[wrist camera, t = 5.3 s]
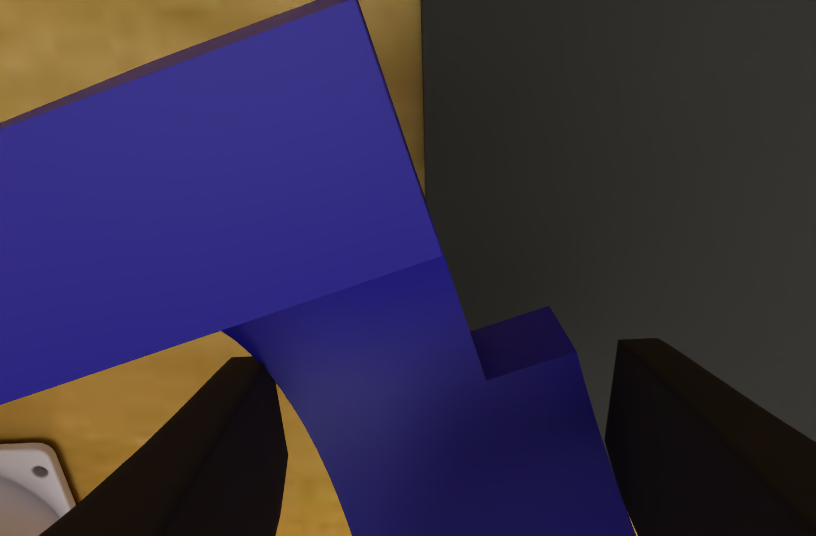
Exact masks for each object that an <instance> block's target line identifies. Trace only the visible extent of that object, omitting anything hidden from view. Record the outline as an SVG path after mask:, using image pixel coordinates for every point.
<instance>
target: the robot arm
mask: <svg viewBox="0 0 816 536" xmlns="http://www.w3.org/2000/svg"><path fill="white" fill-rule="evenodd" d="M604 442H605V445H606V449H607V452H608V455H609V459H610V462H611V466H612V469H613V472H614V476H615V479H616V482H617V485H618V488H619V491H620V494H621V497H622V500H623V503H624V505H625V507H626V510H627V512H628V514H629V517H630V519H631V521H632V523H633V525H634V528H635V530H636V532H637V534H638V536H816V442H815V441H813V440H812V439H810V438H809V437H807V436H805V435H804V434H802V433H801V432H799V431H797V430H796V429H794V428H793V427H791V426H790V425H788V424H786V423H785V422H783V421H782V420H780V419H779V418H777V417H776V416H774V415H773V414H771V413H770V412H768V411H767V410H765V409H764V408H762V407H761V406H759V405H758V404H756V403H754V402H753V401H751V400H750V399H749V398H747V397H746V396H744V395H743V394H741V393H740V392H738V391H737V390H735V389H734V388H732V387H731V386H729V385H728V384H726V383H725V382H724V381H722V380H721V379H719V378H718V377H716V376H715V375H713V374H712V373H710V372H709V371H707V370H706V369H705V368H703V367H702V366H700V365H699V364H697V363H696V362H694V361H693V360H691V359H690V358H688V357H687V356H685V355H684V354H682V353H681V352H679V351H678V350H676V349H675V348H673V347H672V346H670V345H669V344H667V343H665V342H664V341H662V340H660V339H659V338H642V339H620V340H618V344H617V351H616V358H615V365H614V373H613V380H612V387H611V395H610V402H609V409H608V416H607V424H606V431H605V438H604ZM287 460H288V452H287V446H286V440H285V435H284V429H283V423H282V417H281V412H280V406H279V400H278V395H277V389H276V383H275V381H274V379H273V378H272V377H271V376H270V374H269V373H268V372H267V369H266V366H265V364H260V363H259V362H258V361H257V360H256V359H255V358H254V357H253V356H250V357H232V358H231V359H229V360H228V361H227V362H226V363H225V364H224V365H223V366H222V367H221V368H220V369H219V370H218V371H217V372H216V373H215V374H214V375H213V376H212V377H211V378H210V379H209V380H208V381H207V382H206V383H205V384H204V385H203V386H202V387H201V388H200V389H199V391H198V392H197V393H196V394H195V395H194V396H193V397H192V398H191V399H190V400H189V401H188V402H187V403H186V404H185V405H184V406H183V407H182V408H181V409H180V410H179V411H178V412H177V413H176V414H175V415H174V416H173V417H172V418H171V419H170V420H169V421H168V422H167V423H166V424H165V425H164V426H163V427H162V428H161V429H159V430H158V431H157V432H156V433H155V434H154V435H153V436H152V437H151V438H150V439H149V440H148V441H147V442H146V443H145V444H144V445H143V446H142V447H141V448H140V449H139V450H138V451H136V452H135V453H134V454H133V455H132V456H131V457H130V458H129V459H128V460H126V461H125V462H124V463H123V464H122V465H121V466H120V467H119V468H117V469H116V470H115V471H114V472H113V473H112V474H111V475H110V476H109V477H107V478H106V479H105V480H104V481H103V482H102V483H101V484H100V485H99V486H97V487H96V488H95V489H94V490H93V491H92V492H91V493H90V494H88V495H87V496H86V497H85V498H84V499H83V500H82V501H80V502H79V503H78V504H77V505H76V504H75V501H74V499H73V496H72V494H71V491H70V489H69V486H68V483H67V481H66V478H65V476H64V473H63V471H62V468H61V466H60V463H59V461H58V458H57V456H56V453H55V452H54V450H53V449H52V448H51V447H50V446H49V445H46V444H44V443H14V444H0V536H275V535H276V531H277V527H278V523H279V519H280V513H281V506H282V499H283V492H284V485H285V476H286V468H287ZM42 467H43V468H42ZM44 468H45V469H44Z"/></svg>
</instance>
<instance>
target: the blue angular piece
mask: <svg viewBox="0 0 816 536" xmlns="http://www.w3.org/2000/svg"><path fill="white" fill-rule="evenodd" d="M218 331H222V332H224V333H225V334H227V335H228V336H230V337H231V338H233V339H234V340H235V341H237V342H238V343H239V344H240V345H241V346H242V347H243V348H245V349H246V350H247V351H248V352H249V353H250V354H251V355H252V356H253V357H254V358H255V359H256V360H257V361H258V362H259V363H260V364H265V366H266V369H267V372H268V373H269V374H270V376H271V377H272V378H273V379H274V381H275V382H276V383H277V384H278V386H279V387H280V388H281V390H282V391H283V393H284V394H285V396H286V397H287V399H288V400H289V402H290V403H291V404H292V406H293V408H294V409H295V411H296V413H297V414H298V416H299V418H300V419H301V421H302V423H303V424H304V426H305V428H306V430H307V431H308V433H309V435H310V437H311V439H312V441H313V443H314V445H315V447H316V448H317V451H318V453H319V455H320V457H321V459H322V461H323V463H324V465H325V467H326V470H327V472H328V474H329V477H330V479H331V481H332V484H333V486H334V488H335V491H336V493H337V495H338V498H339V501H340V503H341V506H342V509H343V511H344V514H345V517H346V519H347V522H348V525H349V528H350V531H351V534H352V536H636V534H635V531H634V529H633V526H632V523H631V520H630V518H629V515H628V512H627V510H626V507H625V505H624V503H623V500H622V497H621V494H620V491H619V488H618V485H617V482H616V479H615V476H614V473H613V470H612V467H611V464H610V461H609V458H608V455H607V452H606V449H605V446H604V443H603V440H602V437H601V434H600V431H599V428H598V425H597V421H596V418H595V415H594V412H593V408H592V405H591V401H590V398H589V395H588V391H587V388H586V384H585V380H584V377H583V373H582V369H581V366H580V362H579V358H578V354H577V351H576V349H575V348H574V346H573V344H572V343H571V341H570V339H569V338H568V336H567V334H566V333H565V331H564V329H563V328H562V326H561V325H560V323H559V321H558V320H557V318H556V316H555V315H554V313H553V311H552V310H551V308H550V306H547V307H543V308H540V309H537V310H534V311H531V312H528V313H525V314H522V315H519V316H516V317H513V318H510V319H507V320H504V321H501V322H498V323H495V324H492V325H488V326H485V327H482V328H479V329H476V330H473V331H470V330H469V327H468V324H467V321H466V318H465V315H464V312H463V310H462V307H461V304H460V301H459V298H458V295H457V292H456V289H455V286H454V283H453V280H452V277H451V274H450V271H449V268H448V265H447V262H446V259H445V256H444V253H443V250H442V247H441V244H440V241H439V238H438V235H437V233H436V230H435V227H434V224H433V221H432V218H431V215H430V212H429V209H428V206H427V203H426V200H425V197H424V194H423V191H422V188H421V185H420V182H419V179H418V176H417V173H416V170H415V167H414V164H413V161H412V158H411V156H410V153H409V150H408V147H407V144H406V141H405V138H404V135H403V132H402V129H401V126H400V123H399V120H398V117H397V114H396V111H395V108H394V105H393V102H392V99H391V96H390V93H389V90H388V87H387V84H386V82H385V79H384V76H383V73H382V70H381V67H380V64H379V61H378V58H377V55H376V52H375V49H374V46H373V43H372V40H371V37H370V34H369V31H368V28H367V25H366V22H365V19H364V16H363V13H362V10H361V7H360V5H359V2H358V0H316V1H313V2H311V3H308V4H305V5H303V6H300V7H297V8H295V9H292V10H289V11H286V12H284V13H281V14H278V15H276V16H273V17H270V18H268V19H265V20H262V21H259V22H257V23H254V24H251V25H249V26H246V27H243V28H241V29H238V30H235V31H233V32H230V33H227V34H224V35H222V36H219V37H216V38H214V39H211V40H208V41H206V42H203V43H200V44H198V45H195V46H192V47H189V48H187V49H184V50H181V51H179V52H176V53H173V54H171V55H168V56H165V57H163V58H160V59H157V60H155V61H152V62H150V63H147V64H145V65H142V66H140V67H137V68H135V69H132V70H130V71H127V72H125V73H122V74H120V75H118V76H115V77H113V78H110V79H108V80H105V81H103V82H100V83H98V84H95V85H93V86H90V87H88V88H85V89H83V90H80V91H78V92H76V93H73V94H71V95H68V96H66V97H63V98H61V99H58V100H56V101H53V102H51V103H48V104H46V105H43V106H41V107H39V108H36V109H34V110H31V111H29V112H26V113H24V114H21V115H19V116H16V117H14V118H11V119H9V120H6V121H4V122H2V123H0V405H1V404H4V403H7V402H10V401H13V400H16V399H19V398H22V397H25V396H28V395H31V394H34V393H37V392H40V391H43V390H46V389H49V388H52V387H55V386H58V385H61V384H64V383H67V382H70V381H73V380H76V379H79V378H81V377H84V376H87V375H90V374H93V373H96V372H99V371H102V370H105V369H108V368H111V367H114V366H117V365H120V364H123V363H126V362H129V361H132V360H135V359H138V358H141V357H144V356H147V355H150V354H153V353H156V352H159V351H162V350H165V349H168V348H171V347H174V346H177V345H179V344H182V343H185V342H188V341H191V340H194V339H197V338H200V337H203V336H206V335H209V334H212V333H215V332H218Z"/></svg>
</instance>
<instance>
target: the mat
mask: <svg viewBox="0 0 816 536" xmlns="http://www.w3.org/2000/svg"><path fill="white" fill-rule="evenodd" d="M421 33H422V74H423V116H424V157H425V199H426V203H427V206H428V209H429V212H430V215H431V218H432V221H433V224H434V227H435V230H436V233H437V235H438V238H439V241H440V244H441V247H442V250H443V253H444V256H445V259H446V262H447V265H448V268H449V271H450V274H451V277H452V280H453V283H454V286H455V289H456V292H457V295H458V298H459V301H460V304H461V307H462V310H463V312H464V315H465V318H466V321H467V324H468V327H469V330H470V331H473V330H476V329H479V328H482V327H485V326H488V325H492V324H495V323H498V322H501V321H504V320H507V319H510V318H513V317H516V316H519V315H522V314H525V313H528V312H531V311H534V310H537V309H540V308H543V307H547V306H550V308H551V310H552V311H553V313H554V315H555V316H556V318H557V320H558V321H559V323H560V325H561V326H562V328H563V329H564V331H565V333H566V334H567V336H568V338H569V339H570V341H571V343H572V344H573V346H574V348H575V349H576V351H577V354H578V358H579V362H580V366H581V369H582V373H583V377H584V380H585V384H586V388H587V391H588V395H589V398H590V401H591V405H592V408H593V412H594V415H595V418H596V421H597V425H598V428H599V431H600V434H601V437H602V440H603V443H604V446H605V449H606V445H605V442H604V438H605V431H606V424H607V416H608V409H609V402H610V395H611V387H612V380H613V373H614V365H615V358H616V351H617V344H618V340H620V339H642V338H659V339H660V340H662V341H664V342H665V343H667V344H669V345H670V346H672V347H673V348H675V349H676V350H678V351H679V352H681V353H682V354H684V355H685V356H687V357H688V358H690V359H691V360H693V361H694V362H696V363H697V364H699V365H700V366H702V367H703V368H705V369H706V370H707V371H709V372H710V373H712V374H713V375H715V376H716V377H718V378H719V379H721V380H722V381H724V382H725V383H726V384H728V385H729V386H731V387H732V388H734V389H735V390H737V391H738V392H740V393H741V394H743V395H744V396H746V397H747V398H749V399H750V400H751V401H753V402H754V403H756V404H758V405H759V406H761V407H762V408H764V409H765V410H767V411H768V412H770V413H771V414H773V415H774V416H776V417H777V418H779V419H780V420H782V421H783V422H785V423H786V424H788V425H790V426H791V427H793V428H794V429H796V430H797V431H799V432H801V433H802V434H804V435H805V436H807V437H809V438H810V439H812V440H813V441H815V442H816V0H421ZM606 452H607V449H606ZM607 455H608V452H607ZM608 458H609V455H608ZM609 461H610V459H609ZM610 464H611V462H610ZM611 467H612V466H611ZM612 470H613V469H612ZM613 473H614V472H613Z"/></svg>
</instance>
